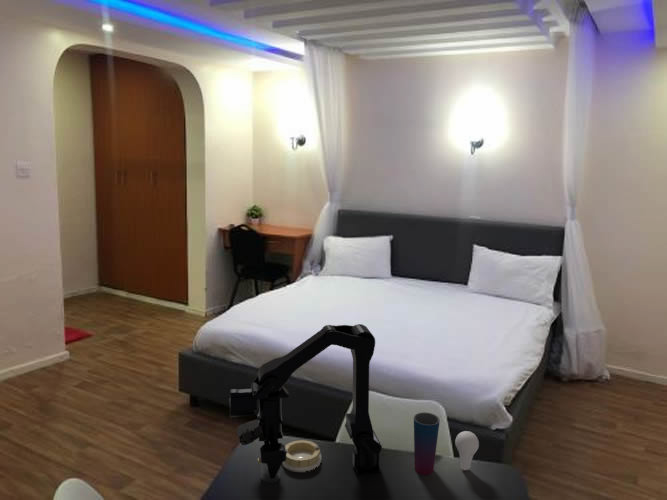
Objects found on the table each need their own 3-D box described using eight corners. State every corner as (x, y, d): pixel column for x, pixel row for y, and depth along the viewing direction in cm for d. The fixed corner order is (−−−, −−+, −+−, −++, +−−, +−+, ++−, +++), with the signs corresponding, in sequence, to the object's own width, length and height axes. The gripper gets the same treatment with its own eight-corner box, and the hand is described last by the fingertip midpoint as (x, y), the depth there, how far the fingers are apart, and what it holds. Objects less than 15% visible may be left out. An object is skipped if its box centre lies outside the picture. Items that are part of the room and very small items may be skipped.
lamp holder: (317, 447, 160) (317, 436, 159) (324, 470, 149) (324, 457, 149) (279, 451, 158) (279, 439, 157) (283, 474, 147) (283, 462, 146)
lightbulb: (477, 477, 147) (480, 439, 145) (453, 474, 148) (456, 437, 146) (476, 464, 153) (478, 428, 150) (453, 461, 154) (455, 425, 152)
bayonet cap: (281, 469, 149) (281, 446, 148) (283, 481, 144) (283, 457, 143) (257, 472, 148) (257, 448, 146) (259, 484, 143) (258, 459, 141)
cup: (416, 478, 146) (419, 426, 143) (407, 463, 153) (410, 413, 150) (440, 475, 148) (443, 423, 145) (431, 461, 154) (433, 411, 151)
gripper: (237, 398, 150) (238, 451, 153) (239, 434, 132) (240, 493, 135) (278, 395, 152) (278, 447, 155) (286, 430, 134) (286, 488, 137)
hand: (270, 467), depth 145 cm, fingers open, 9 cm apart
